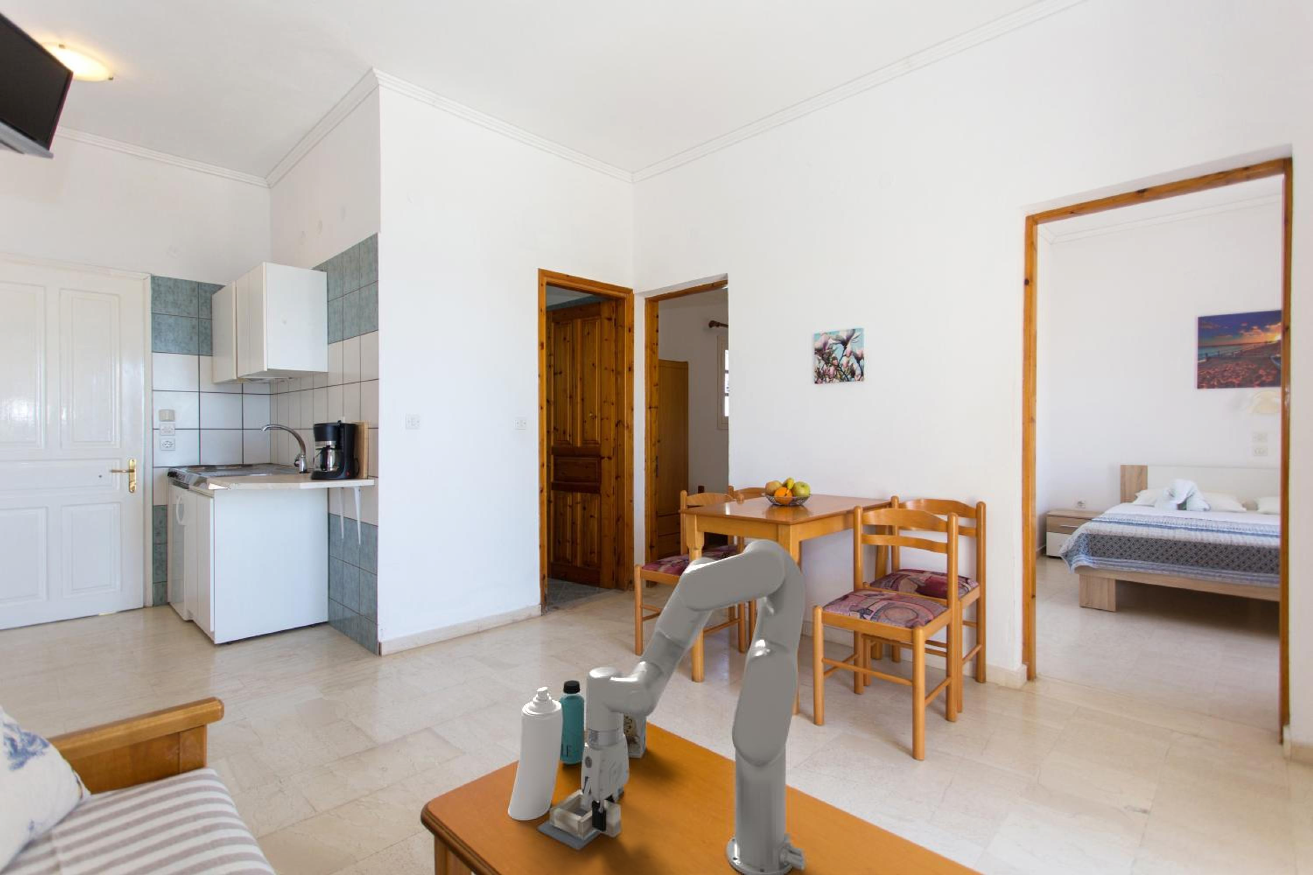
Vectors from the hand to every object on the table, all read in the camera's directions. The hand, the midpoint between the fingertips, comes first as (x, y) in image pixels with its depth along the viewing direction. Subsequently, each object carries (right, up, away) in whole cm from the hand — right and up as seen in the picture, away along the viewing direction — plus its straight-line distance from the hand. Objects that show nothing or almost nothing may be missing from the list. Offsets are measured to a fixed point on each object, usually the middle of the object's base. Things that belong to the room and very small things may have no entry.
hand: (604, 824), depth 127 cm
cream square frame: (-3, -1, +2) cm, 4 cm away
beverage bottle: (-10, -3, +29) cm, 31 cm away
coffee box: (+3, -3, +35) cm, 36 cm away
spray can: (-16, -3, +11) cm, 20 cm away
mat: (-6, -3, +4) cm, 7 cm away
